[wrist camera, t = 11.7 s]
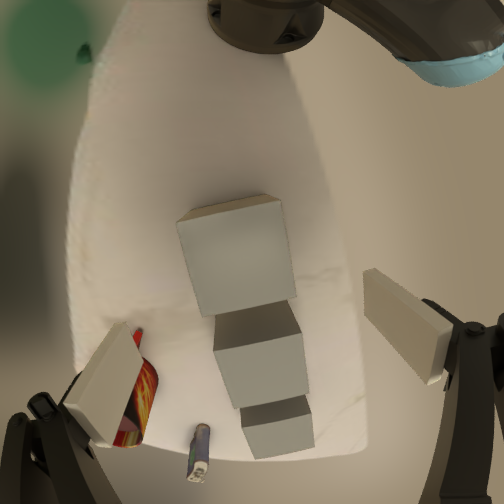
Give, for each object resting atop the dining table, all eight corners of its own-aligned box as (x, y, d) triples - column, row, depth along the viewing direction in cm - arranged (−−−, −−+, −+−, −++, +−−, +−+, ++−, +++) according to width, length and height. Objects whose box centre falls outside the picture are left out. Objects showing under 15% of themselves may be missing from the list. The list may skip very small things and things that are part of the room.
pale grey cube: (191, 209, 32) (175, 223, 23) (265, 194, 33) (280, 200, 23) (208, 279, 35) (201, 317, 25) (278, 264, 35) (296, 297, 25)
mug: (144, 326, 36) (117, 379, 24) (164, 395, 39) (152, 451, 28) (88, 325, 35) (51, 371, 24) (114, 392, 39) (93, 442, 27)
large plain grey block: (238, 379, 39) (241, 427, 30) (295, 367, 39) (311, 413, 30) (249, 414, 42) (254, 459, 32) (300, 404, 42) (314, 447, 32)
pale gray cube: (216, 307, 36) (213, 351, 26) (283, 293, 36) (301, 332, 26) (232, 360, 38) (234, 408, 29) (292, 347, 38) (309, 393, 29)
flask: (198, 422, 42) (194, 469, 31) (214, 425, 42) (213, 472, 32) (188, 446, 44) (184, 488, 33) (202, 449, 44) (200, 491, 34)
